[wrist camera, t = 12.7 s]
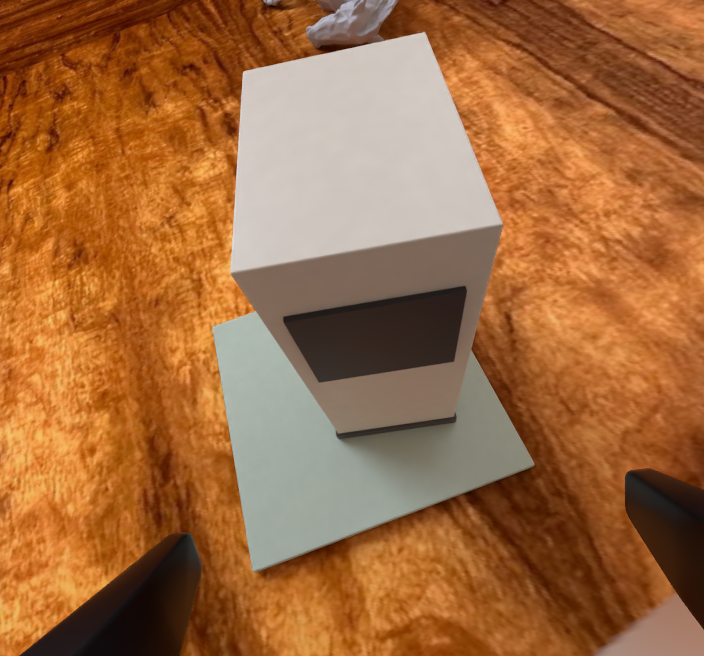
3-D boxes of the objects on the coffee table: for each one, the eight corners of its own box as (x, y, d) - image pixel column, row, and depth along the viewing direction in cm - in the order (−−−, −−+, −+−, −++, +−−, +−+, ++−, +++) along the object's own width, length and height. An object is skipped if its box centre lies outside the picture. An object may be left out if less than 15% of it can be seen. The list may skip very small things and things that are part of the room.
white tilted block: (423, 288, 21) (428, 28, 10) (456, 423, 17) (513, 230, 7) (326, 304, 21) (238, 69, 11) (338, 440, 18) (224, 281, 7)
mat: (532, 466, 16) (535, 465, 16) (256, 572, 16) (251, 573, 16) (417, 258, 22) (417, 252, 22) (215, 331, 22) (211, 326, 22)
